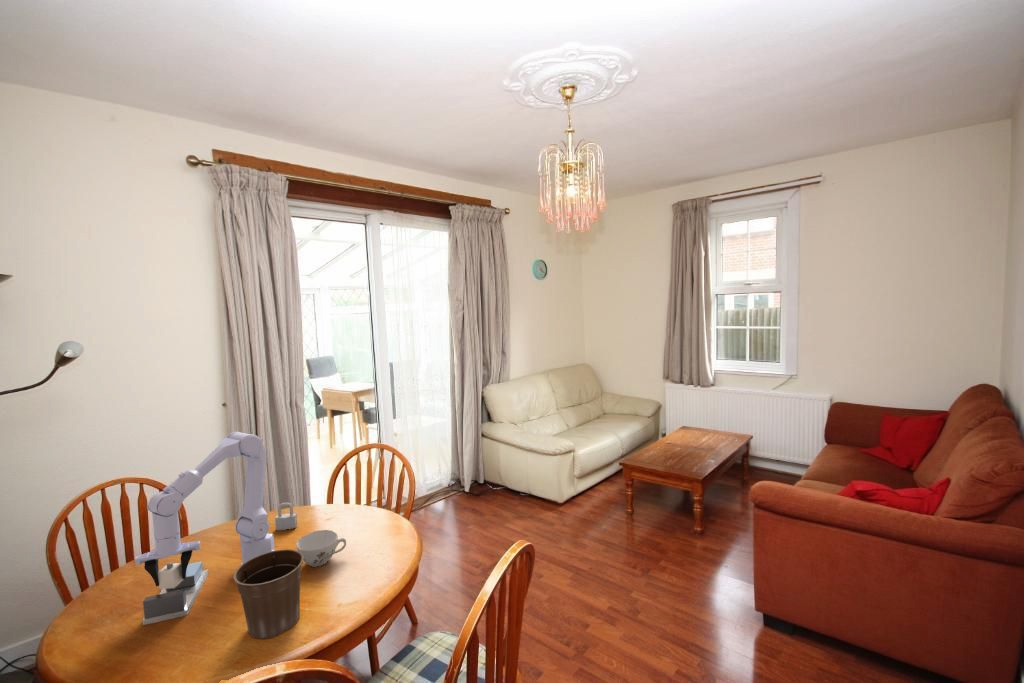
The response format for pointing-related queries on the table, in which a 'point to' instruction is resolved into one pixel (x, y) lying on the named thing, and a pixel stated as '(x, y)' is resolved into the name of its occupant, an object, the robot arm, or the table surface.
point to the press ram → (190, 575)
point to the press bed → (189, 599)
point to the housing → (170, 576)
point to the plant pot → (270, 591)
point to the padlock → (286, 518)
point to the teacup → (319, 547)
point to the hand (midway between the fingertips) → (171, 580)
